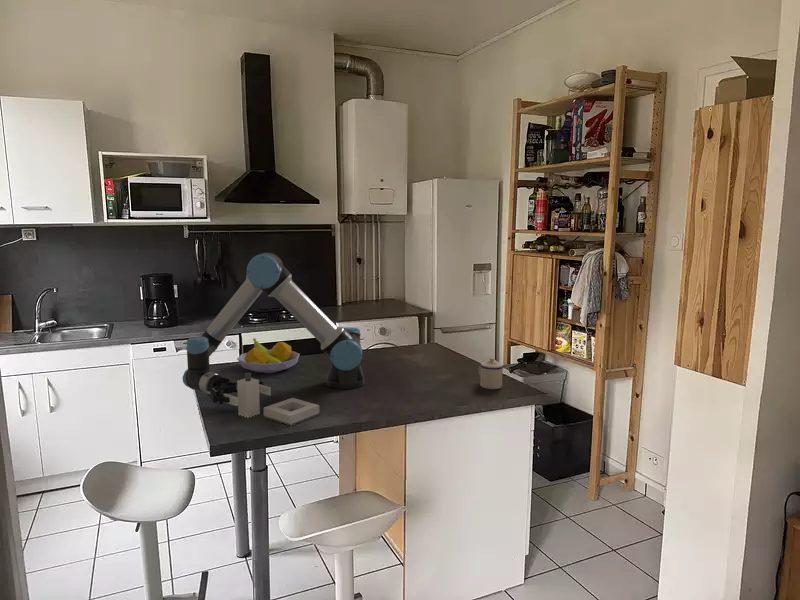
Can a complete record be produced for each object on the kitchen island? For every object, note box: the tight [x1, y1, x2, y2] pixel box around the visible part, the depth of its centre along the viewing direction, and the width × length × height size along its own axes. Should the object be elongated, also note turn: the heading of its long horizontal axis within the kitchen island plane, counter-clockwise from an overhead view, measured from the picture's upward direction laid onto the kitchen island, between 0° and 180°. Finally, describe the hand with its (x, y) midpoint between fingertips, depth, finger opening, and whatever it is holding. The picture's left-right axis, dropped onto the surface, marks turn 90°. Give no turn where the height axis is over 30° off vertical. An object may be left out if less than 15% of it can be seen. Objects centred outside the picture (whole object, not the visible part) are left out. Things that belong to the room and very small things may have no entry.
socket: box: [263, 397, 320, 427], centre depth 185 cm, size 17×13×4 cm
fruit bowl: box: [237, 337, 301, 374], centre depth 242 cm, size 28×27×11 cm
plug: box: [236, 372, 261, 419], centre depth 185 cm, size 5×5×14 cm
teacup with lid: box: [477, 357, 504, 390], centre depth 220 cm, size 12×9×12 cm
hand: (253, 396), depth 183 cm, fingers open, 13 cm apart
